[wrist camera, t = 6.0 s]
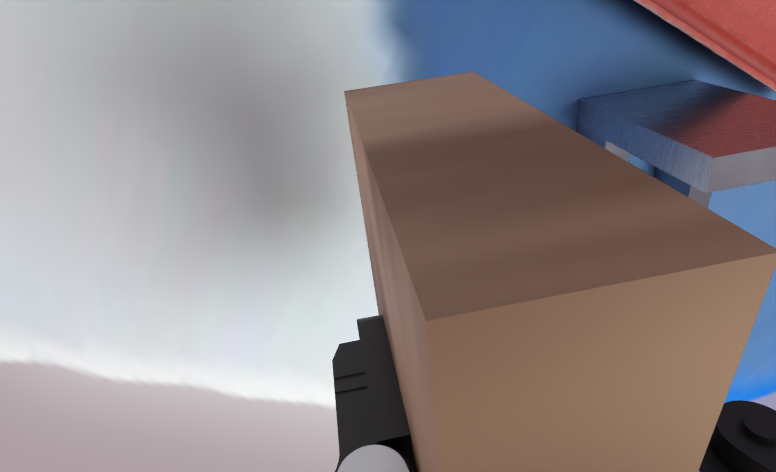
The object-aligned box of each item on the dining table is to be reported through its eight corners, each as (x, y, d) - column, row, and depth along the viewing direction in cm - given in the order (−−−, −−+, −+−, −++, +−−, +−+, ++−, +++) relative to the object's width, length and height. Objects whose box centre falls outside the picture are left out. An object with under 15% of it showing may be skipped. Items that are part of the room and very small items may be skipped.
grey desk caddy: (579, 99, 27) (713, 157, 18) (695, 80, 27) (880, 127, 19) (555, 370, 37) (632, 488, 29) (639, 351, 38) (739, 462, 29)
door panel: (344, 91, 10) (425, 320, 4) (473, 72, 11) (781, 251, 4) (397, 434, 17) (465, 763, 10) (478, 416, 17) (602, 725, 10)
